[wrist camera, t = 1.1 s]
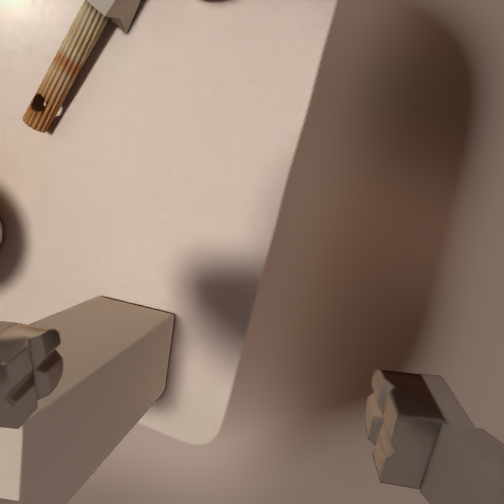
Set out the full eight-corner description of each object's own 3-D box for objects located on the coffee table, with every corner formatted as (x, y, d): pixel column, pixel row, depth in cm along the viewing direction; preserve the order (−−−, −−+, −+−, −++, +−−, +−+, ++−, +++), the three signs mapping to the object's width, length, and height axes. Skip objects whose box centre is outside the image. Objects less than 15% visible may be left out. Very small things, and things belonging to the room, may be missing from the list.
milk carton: (175, 313, 29) (-91, 507, 11) (165, 390, 30) (-89, 685, 12) (99, 294, 30) (-256, 438, 12) (92, 369, 31) (-239, 606, 13)
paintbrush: (187, -130, 21) (36, 137, 27) (203, -95, 24) (62, 142, 30) (141, -169, 21) (1, 105, 27) (162, -130, 24) (31, 112, 30)
